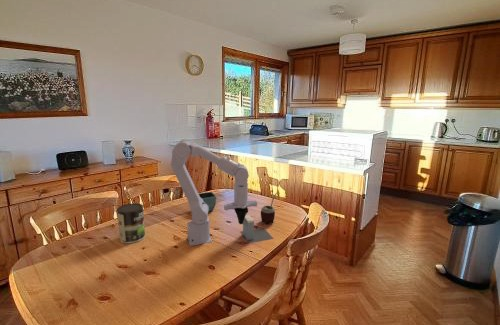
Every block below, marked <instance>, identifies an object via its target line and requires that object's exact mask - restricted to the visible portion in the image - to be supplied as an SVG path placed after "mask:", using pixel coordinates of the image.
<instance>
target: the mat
mask: <svg viewBox="0 0 500 325" xmlns="http://www.w3.org/2000/svg"><path fill="white" fill-rule="evenodd" d="M239 233H240V234H241V235H242V237H243V238H244V240H246V242H247V244H253V243H258V242H259V243H260V242H264V241H269V240H273V239H274V238H275V237H273V236H272V235H271V234H270V233H269V232H268V230H266V229H265V227H260V228H254V239H252V240H247V239H246V237H245V236H244V235H243V230H242V231H240V232H239Z"/></svg>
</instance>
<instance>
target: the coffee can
mask: <svg viewBox="0 0 500 325" xmlns="http://www.w3.org/2000/svg"><path fill="white" fill-rule="evenodd" d="M116 212H117V222H118V228H119V230H118V232H119V241H120V242H121V243H123V244H134V243H138V242H140V241H142V240H144V238H146V229H145V215H144V205H143V204H142V203H138V202H137V203H135V202H134V203H126V204H123V205H120V206H118V208H117V209H116Z"/></svg>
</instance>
